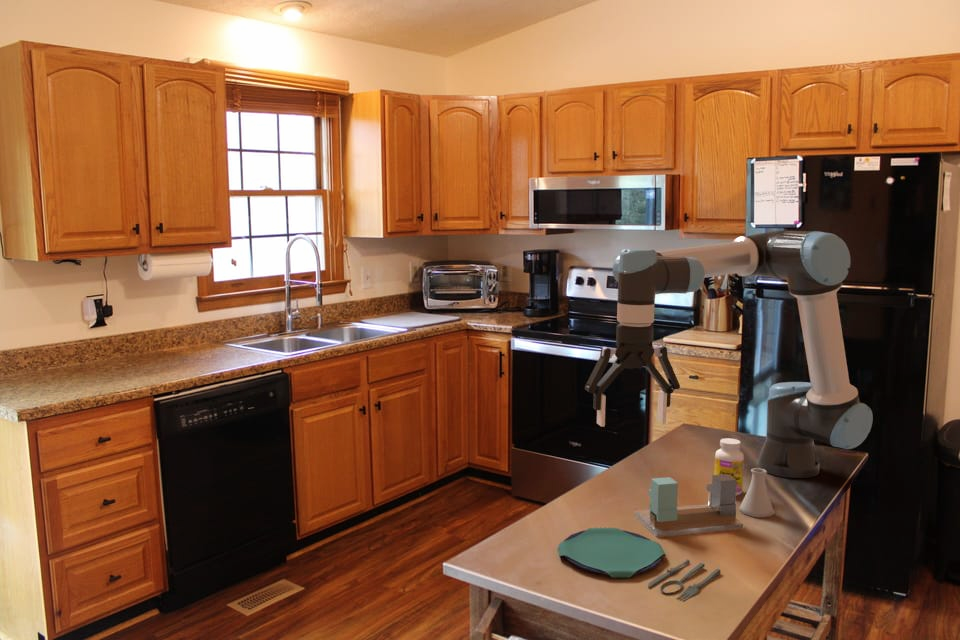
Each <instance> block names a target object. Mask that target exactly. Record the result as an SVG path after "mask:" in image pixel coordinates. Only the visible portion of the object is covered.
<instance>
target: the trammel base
mask: <svg viewBox="0 0 960 640" xmlns="http://www.w3.org/2000/svg"><path fill="white" fill-rule="evenodd" d="M711 481H712V482H711V483H710V484H706V491H707V492H708V497H707V498H708V502H707V503H705V504H694V505H684V506H677V509H678V514H677V520H674V521H663V522H657V516H656V515H655V514H654V513H653V512H650V514H649V508H648V509H636V510H635V509H634V510H633V516H634V517H635V519H637V520H638V521H639V522H640V523H641V524H642V525H643V526H644V527H646V528H647V530H648V531H649V532H650V533H652V534H653V535H654V537H656V538H662V537H663V538H665V537H673V536H674V537H676V536H683V535H694V534H695V533H696V534H706V532H707V533H715V532H714V531H718V532H727V531H726V530H729V531H737V529H739V530H744V523H743V522H742V521H740V520H739V519H737V503H736V498H737V497H736V479H734V478H733V477H731V476H730V475H728V474H722V475H714V474H712V479H711Z"/></svg>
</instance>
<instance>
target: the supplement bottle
mask: <svg viewBox="0 0 960 640" xmlns="http://www.w3.org/2000/svg"><path fill="white" fill-rule="evenodd" d="M741 443H742V442H741V441H740V440H738V439H737V438H729V437H727V438H721V439H720V441H719V447H720V448H719V449H717V450H716V452H715V455H714V470H713V471H714V473H713V475H722V474H728V475H730V476H731V477H733V478H734V479H736V496H740V495H741V494H742V492H743V483H744V482H743V481H744V479H743V478H744V464H745V454H744V452H742V451H741V450H740V448H741V447H742V446H741Z"/></svg>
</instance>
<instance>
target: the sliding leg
mask: <svg viewBox="0 0 960 640" xmlns="http://www.w3.org/2000/svg"><path fill="white" fill-rule="evenodd" d="M678 486H679V483H678V482H677V481H676V480H674V479H673V478H672V477H671V476H669V477H667V476H666V477H656V478H655V477H653V478H650V488H648V492H647V493H648V496H650V501H649V505H648V507H649V508H648V509H649V514H650V512H653V513H654V514H655V515H656V516H657V522H663V521H674V520H677V514H678V509H677V507H678V491H679V487H678Z"/></svg>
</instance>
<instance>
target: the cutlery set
mask: <svg viewBox="0 0 960 640" xmlns="http://www.w3.org/2000/svg"><path fill="white" fill-rule="evenodd" d="M557 551H558V555H559V558H560V559H561V557H562V556H564V558H566V559H567V561H568V562H569V563H571V564H573V565H575V566H577V567H579V568H580V569H582V570H583V569H584V570H586V571H590V572H592V573H597V574H602V575H608V576H610V577H611V578H613V579H615V578H617V579H618V578H624V579H625V578H630V577H632V576H633V575H636V574H640V573H644V572H647V571H649V570H651V569H655V567H656V566H658V565H659V563H661V562H662V558H664V557H665V556H666V552H665V550H664V549H663V547H662V545H661V544H660V543H659V542H657V541H655V540H652V539H650V538H648V537H646V536H644V535H642V534H639V533H636V532H631V531H628V530H625V529H624V530H623V529H620V528H618V527H590V528H588V529H586V530H581V531H577V532H575V533H571V534H570V535H569V536H568V537H566V538H565V539H564V540H563V541H561V542H560V543H559V544H558V546H557ZM690 561H691V560H690V559H688V558H686V559H685V560H684V561H683V562H682V563H680V564H678V565H677V566H675V567H670V569H666V573H663V574H661V575H658V576H657V577H656V578H655V579H653V580H651V581H650V582H648V585H647V588H648V589H651V588H652V587H654V586H655V585H657V584H658V583H660V582H661V581H663V580H664V579H667V578H668V577H669V576H673V574H676V572H677V570H679V569H680V568H682V567H683V566H684V565H686V564H690ZM705 566H706V565H705V563H702V562H700V563H698V564H697V565H696V566H695V567H693V568H692V569H691V570H689V571H688V572H687V573H686V574H685V575H683V577H681V578H680V579H679V580H675V579H674V580H668V581H665V582H663V584H661V586H660V587H659V588H660V592H662V593H665V594H675V593H678V592H680V590H682V588H683V582H684V581H685V580H687V579H688V578H689V577H690V576H692V575H693V574H695V573H697V572H698V571H701V570H702V569H703V568H705ZM720 574H721V569H719V568H716V569H715V570H714V571H712V572H711V573H710V574H709V575H708V576H707V577H705V578H704V579H703V580H702V581H700V582H698V583H694V584H692V585H688V587H687V588H686V589H685V590H684V591H683V592H682V593H681V594H680V595H679V596H677V597H676V600H679V601H682V602H685V601H687V600H688V599H691V598H692V597H694V596H696V595H697V594H699V589H700V588H702V587H704V586H705V585H706V584H708V583H710V582H711V581H712V580H713V579H715V577H717V576H719V575H720ZM670 585H676V586H679V589H677V590H675V591H672V592H665V591H664V589H665V587H667V586H670Z"/></svg>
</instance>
